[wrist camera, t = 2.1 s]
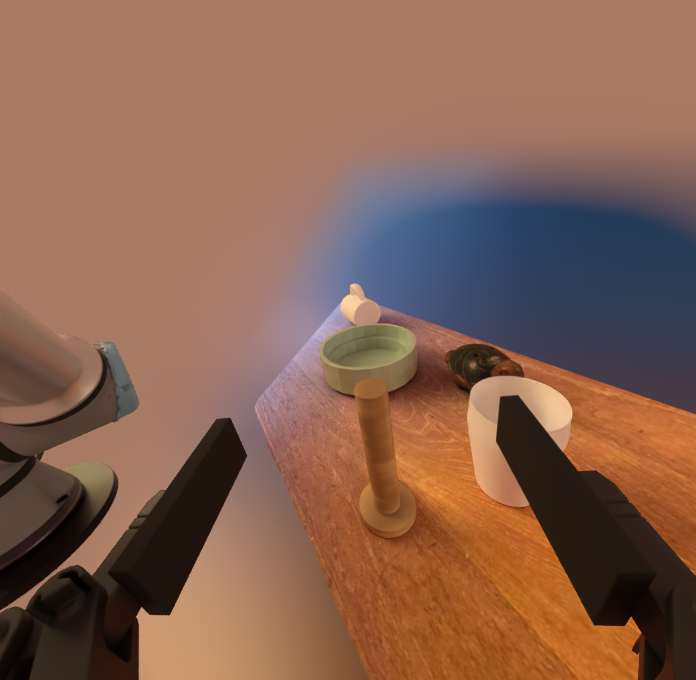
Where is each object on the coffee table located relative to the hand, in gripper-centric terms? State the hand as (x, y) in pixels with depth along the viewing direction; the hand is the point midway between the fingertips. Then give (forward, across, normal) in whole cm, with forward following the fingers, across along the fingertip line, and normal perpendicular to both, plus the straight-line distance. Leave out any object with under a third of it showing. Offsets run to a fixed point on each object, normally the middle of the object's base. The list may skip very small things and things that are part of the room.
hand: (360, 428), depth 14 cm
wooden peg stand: (+10, 0, -22) cm, 24 cm away
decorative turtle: (+31, +17, -22) cm, 42 cm away
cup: (+13, +14, -22) cm, 29 cm away
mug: (+66, -5, -22) cm, 69 cm away
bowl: (+40, -2, -22) cm, 45 cm away
